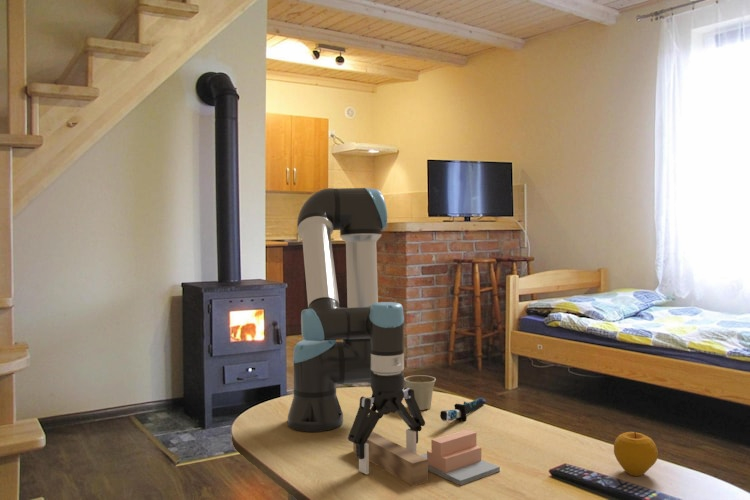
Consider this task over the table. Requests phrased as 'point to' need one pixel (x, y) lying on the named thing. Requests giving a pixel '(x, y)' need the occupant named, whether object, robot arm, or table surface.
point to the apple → (635, 452)
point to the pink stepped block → (458, 458)
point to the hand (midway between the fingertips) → (388, 465)
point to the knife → (462, 410)
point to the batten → (397, 459)
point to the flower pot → (421, 389)
